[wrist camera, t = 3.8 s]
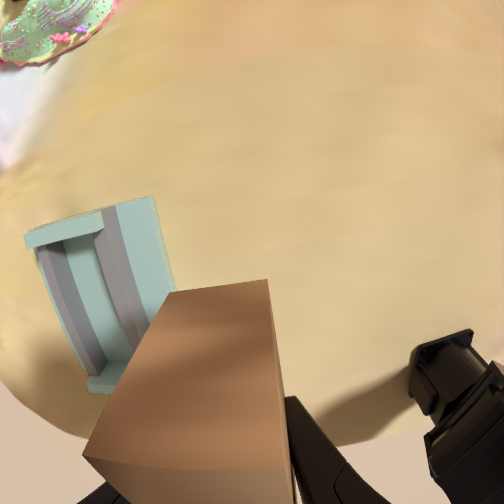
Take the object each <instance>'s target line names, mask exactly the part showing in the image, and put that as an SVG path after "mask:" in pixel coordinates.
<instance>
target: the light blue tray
mask: <svg viewBox="0 0 504 504" xmlns="http://www.w3.org/2000/svg"><path fill="white" fill-rule="evenodd" d="M23 236H24V240H25V244H26V247H27V249H30V248H34V251H35V255H36V258H37V261H38V264H39V268H40V271H41V274H42V277H43V279H44V282H45V285H46V288H47V291H48V293H49V296H50V299H51V301H52V304H53V306H54V309H55V311H56V313H57V316H58V318H59V321H60V323H61V325H62V327H63V330H64V332H65V334H66V336H67V338H68V341H69V343H70V345H71V347H72V349H73V351H74V353H75V355H76V357H77V359H78V361H79V363H80V365H81V367H82V368H83V370H87V372H88V374H89V378H88V379H87V381H86V382H85V385H86V387H87V389H88V390H89V392H90V393H96V394H109V395H112V393H113V391H114V390H115V388H116V386H117V384H118V382H119V380H120V378H121V376H122V375H123V373H124V371H125V369H126V367H127V365H128V364H129V362H130V360H131V358H132V356H133V354H134V353H135V351H136V349H137V347H138V345H139V344H140V342H141V340H142V338H143V337H144V335H145V333H146V331H147V330H148V328H149V326H150V324H151V323H152V321H153V319H154V317H155V316H156V314H157V312H158V311H159V309H160V307H161V305H162V304H163V302H164V300H165V299H166V297H167V295H168V294H169V292H176V287H175V283H174V280H173V276H172V272H171V268H170V265H169V261H168V257H167V253H166V249H165V245H164V241H163V237H162V232H161V228H160V224H159V219H158V215H157V210H156V206H155V201H154V196H153V195H152V196H148V197H143V198H139V199H135V200H131V201H127V202H123V203H119V204H115V205H111V206H107V207H103V208H99V209H96V210H92V211H88V212H85V213H81V214H78V215H74V216H71V217H67V218H64V219H61V220H57V221H54V222H51V223H47V224H44V225H41V226H38V227H35V228H33V229H30V230H29V232H28V233H26V234H24V235H23Z"/></svg>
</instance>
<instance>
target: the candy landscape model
mask: <svg viewBox="0 0 504 504" xmlns="http://www.w3.org/2000/svg"><path fill="white" fill-rule="evenodd" d="M120 1H121V0H0V59H1V60H3V61H4V62H9V61H10V62H13V63H14V64H16V65H17V66H23V65H24V64H26V63H32V64H33V63H35V62H37V63H44V62H46V61H48V60H50V59H51V58H53V57H55V56H57V55H59V54H61V53H63V52H65V51H67V50H69V49H71V48H73V47H75V46H77V45H79V44H81V43H83V42H85V41H87V40H89V39H90V38H91V37H92V35H93V34H94V33H95V32H97V31H98V30H100V29H101V28H102V27H103V26H104V25H105V23H106V22H107V21H108V20H109V19H110V18H111V16H112V15H113V14H114V13H115V11H116V9H117V5H118V3H119V2H120Z"/></svg>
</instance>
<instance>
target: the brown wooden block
mask: <svg viewBox="0 0 504 504" xmlns="http://www.w3.org/2000/svg"><path fill="white" fill-rule="evenodd" d="M284 397H285V395H284V388H283V381H282V374H281V367H280V360H279V354H278V347H277V340H276V333H275V327H274V320H273V313H272V307H271V300H270V294H269V287H268V281H267V279H264V280H257V281H250V282H243V283H236V284H229V285H222V286H214V287H207V288H199V289H192V290H184V291H176V292H169V294H168V295H167V297H166V299H165V300H164V302H163V304H162V305H161V307H160V309H159V311H158V312H157V314H156V316H155V317H154V319H153V321H152V323H151V324H150V326H149V328H148V330H147V331H146V333H145V335H144V337H143V338H142V340H141V342H140V344H139V345H138V347H137V349H136V351H135V353H134V354H133V356H132V358H131V360H130V362H129V364H128V365H127V367H126V369H125V371H124V373H123V375H122V376H121V378H120V380H119V382H118V384H117V386H116V388H115V390H114V391H113V393H112V395H111V397H110V399H109V401H108V403H107V405H106V407H105V409H104V411H103V413H102V415H101V417H100V419H99V421H98V423H97V425H96V427H95V429H94V431H93V433H92V435H91V437H90V439H89V441H88V443H87V445H86V447H85V449H84V451H83V453H82V456H83V457H84V458H85V459H86V460H87V461H88V462H89V463H90V464H91V465H92V466H93V467H94V468H95V470H97V472H98V473H99V474H100V475H101V476H102V477H103V478H104V479H105V480H106V481H107V482H108V483H109V484H110V485H111V486H113V487H114V488H115V489H116V490H117V491H118V492H119V493H120V494H121V495H122V496H123V497H124V498H126V499H127V500H128V501H129V502H130V503H131V504H297V494H296V485H295V474H294V469H293V465H292V460H291V453H290V447H289V440H288V433H287V424H286V414H285V403H284Z"/></svg>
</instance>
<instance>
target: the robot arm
mask: <svg viewBox="0 0 504 504" xmlns="http://www.w3.org/2000/svg"><path fill="white" fill-rule="evenodd" d="M473 334H474V332H473V330H472V329H467V330H464V331H461V332H459V333H456V334H453V335H450V336H447V337H444V338H441V339H438V340H435V341H432V342H429V343H426V344H423V345H421V346H419V348H418V349H417V354H416V359H415V364H414V368H413V370H412V375H411V380H410V384H409V392H408V395H409V397H410V398H413V397H414V398H415V400H416V401H417V403H418V405H419V407H420V409H421V410H422V412H423V414H424V415H425V416H428V415H430V417H431V419H432V421H433V423H434V424H435V427H434V428H433V429H432V430H431V431H430V432H428V433H426V434H425V435H424V442H425V447H426V453H427V459H428V465H429V470H430V475H431V477H432V478H433V479H434V481H435V482H436V483H437V484H438V485H439V486H440V487H441V488H442V489H443V491H444V492H445V493H446V495H447V497H448V498H449V500H450V502H451V504H504V366H503V365H501V364H499V363H497V362H495V361H493V360H492V361H491V362H490V364H489V365H488V364H487V363H486V362H485V360H484V359H483V358H482V357H481V356H480V355H479V354H478V353H477V352H476V351H475V350H474V348H473V347H472V346H471V342H472V338H473ZM422 350H423V351H422ZM284 403H285V414H286V424H287V433H288V440H289V447H290V453H291V460H292V465H293V469H294V473H295V477H296V481H297V484H298V488H299V492H300V496H301V499H302V503H303V504H391V503H390V502H389V501H387V500H386V499H385V498H384V497H382V496H381V495H380V494H379V493H378V492H376V491H375V490H374V489H373V488H372V487H371V486H370V485H369V484H367V483H366V482H365V481H364V480H363V479H362V478H361V477H360V475H359V474H358V473H357V472H356V471H355V470H354V469H353V468H352V466H351V465H350V464H349V463H348V462H347V461H346V459H345V458H344V457H343V456H342V454H341V453H340V452H339V451H338V450H337V448H336V447H335V446H334V444H333V443H332V442H331V441H330V439H329V438H328V437H327V436H326V434H325V433H324V432H323V431H322V429H321V428H320V427H319V426H318V424H317V423H316V422H315V420H314V419H313V418H312V416H311V415H310V414H309V413H308V411H307V410H306V409H305V407H304V406H303V405H302V403H301V402H300V401H299V399H298V398H297V397H296V396H288V397H284ZM77 504H131V503H130V502H129V501H128V500H127V499H126V498H124V497H123V496H122V495H121V494H120V493H119V492H118V491H117V490H116V489H115V488H114V487H113V486H111V485H110V484H109V483H108V482H107V481H106V482H105V483H104V484H102V485H101V486H100V487H98V488H97V489H96V490H95V491H93V492H92V493H91V494H89V495H88V496H87V497H85V498H84V499H83V500H81V501H80V502H78V503H77Z"/></svg>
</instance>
